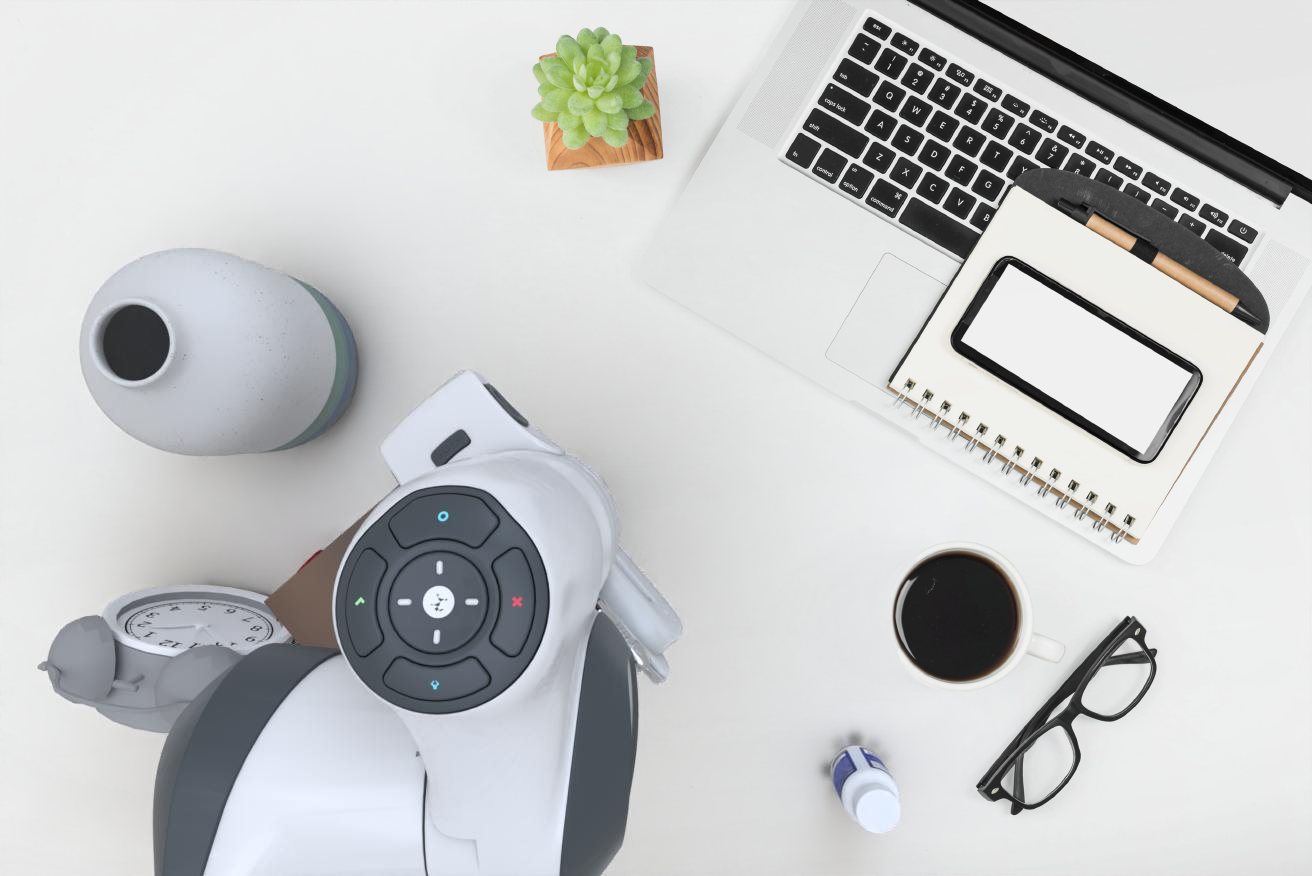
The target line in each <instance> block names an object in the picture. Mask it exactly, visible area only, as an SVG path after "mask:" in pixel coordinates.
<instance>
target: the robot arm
mask: <svg viewBox="0 0 1312 876" xmlns="http://www.w3.org/2000/svg"><path fill="white" fill-rule="evenodd" d="M379 453H380V455H381V457H382V459H383V461H384V462H385V464H386V466H387V467H388V469H389V470H390V473H391V474H392V476H393V477H394V479H395V481H396V482H397V484H398V485H400V487H398V488H397V489H395V488H394V489H395V490H394V489H393V490H394V491H393V492H391V491H390V492H391V493H390V492H389V493H390V494H389V493H388V494H389V495H388V494H387V495H388V496H387V495H386V497H385V496H384V497H385V498H384V497H383V498H384V499H383V498H382V499H383V500H382V499H381V500H382V501H381V500H380V501H381V502H380V501H379V502H380V503H379V502H378V503H379V504H378V505H377V506H376V508H375V509H374V510H373V511H372V513H371V514H370V515H369V516H368V517H367V518H366V520H365V521H364V522H363V524H362V525H361V527H360V528H359V530H358V531H357V533H356V534H355V536H354V537H353V539H352V541H351V543H350V544H349V546H348V548H347V551H346V553H345V555H344V557H343V559H342V561H341V564H340V567H339V569H338V572H337V576H336V580H335V584H334V591H333V601H332V614H333V624H334V630H335V634H336V638H337V642H338V645H339V647H340V649H337V648H327V647H316V646H305V645H299V644H294V643H292V644H284V643H271V644H267V645H264V646H261V647H259V648H257V649H255V650H254V651H252V652H251V653H249V654H248V655H246V656H245V657H243V658H242V659H240V660H239V661H237V662H236V663H234V664H233V665H232V666H230V667H229V668H228V669H226V670H225V671H224V672H222V673H221V674H220V675H219V676H218V677H216V678H215V679H214V680H213V681H212V682H211V683H210V684H208V685H207V686H206V687H205V688H204V689H203V690H202V691H201V692H200V693H199V694H198V695H197V696H196V697H195V698H194V699H193V700H192V701H191V702H190V703H189V705H188V706H187V707H186V708H185V709H184V711H183V712H182V713H181V714H180V716H179V717H178V718H177V720H176V721H175V723H174V724H173V726H172V728H171V730H170V732H169V733H167V736H166V739H165V741H164V743H163V747H162V749H161V753H160V756H159V760H158V764H157V767H156V768H157V769H156V775H155V780H154V788H153V799H152V800H153V801H152V845H153V847H152V849H153V873H154V874H153V875H154V876H602V875H603V873H604V872H605V871H606V869H608V867H609V865H610V864H611V863H612V861H613V860H614V858H615V857H616V855H617V854H618V853H619V851H620V849H621V848H622V847H623V843H624V840H625V836H626V830H627V823H628V818H629V817H628V816H629V807H630V800H631V799H630V797H631V792H632V785H633V782H634V781H633V780H634V773H635V767H636V759H637V749H638V739H639V717H640V716H639V713H640V712H639V707H640V705H639V687H638V676H637V675H638V674H639V673H641V672H642V673H644V674H645V675H646V677H647V678H648V679H649V680H650V681H651V683H653V685H655V686H657V685H659V684H660V683H661V684H662V683H665V682H666V680H667V678H668V677H669V675H670V665H669V661H668V660H667V659H666V657H665V655H664V653H665V652H666V651H667V650H668V649H669V648H671V647H672V646H673V645H674V644H676V642H678V640H679V639H680V637H681V636H682V634H683V629H684V628H683V626H684V625H683V622H682V620H681V618H680V617H679V614H678V613H677V612H676V611H675V609H674V608H673V607H672V605H671V604H670V603H669V602H668V601H667V600H666V598H665V597H664V596H663V595H662V594H661V592H660V591H659V590H658V589H657V588H656V586H655V585H654V584H653V583H652V582H651V581H650V579H649V578H648V577H647V576H646V575H645V574H644V572H643V571H642V569H640V568H639V566H637V564H636V563H635V562H634V560H633V559H632V558H631V557H630V556H629V554H627V552H626V551H625V550H624V548H622V546H620V539H621V528H620V527H621V525H620V519H619V513H618V509H617V506H616V504H615V503H616V502H615V500H614V498H613V496H612V494H611V492H610V490H609V488H608V486H607V485H606V484H605V482H604V481H603V480H602V479H601V477H600V476H599V475H598V474H597V473H596V472H595V471H594V470H593V469H592V468H591V467H590V466H589V465H588V464H586V463H585V462H583V461H582V460H580V459H579V458H576V457H574V456H573V455H570V454H569V453H567V451H566V449H565V448H564V447H562V446H561V445H560V444H558V442H555V441H554V440H552V439H551V438H549V436H546V435H544V434H543V433H542V432H541V431H539V430H538V429H536V428H535V427H534V426H532V425H531V424H530V422H529V421H528V420H527V419H526V417H524V415H522V414H521V413H520V412H519V411H518V410H517V409H515V407H514V406H513V405H512V404H511V403H510V402H509V401H508V400H507V399H506V398H505V397H504V396H503V395H502V394H501V392H500V391H498V389H497V388H496V387H495V386H494V385H492V384H491V383H489V381H488V380H487V379H486V378H485V377H484V376H483V375H481V374H480V373H479V372H477V371H474V370H472V369H467V370H466V369H462V370H459V371H458V372H457V373H455V374H454V375H453V376H451V378H449V379H448V380H446V382H445V383H443V384H442V385H441V386H439V387H438V388H437V389H436V390H435V391H434V392H432V393H431V394H430V395H429V396H428V397H427V398H425V400H423V401H422V402H420V404H419V405H417V406H416V407H415V408H414V409H413V410H412V411H411V412H410V413H408V414H407V416H405V417H404V418H403V419H402V421H401V422H399V423H398V424H397V426H395V428H394V429H393V430H391V432H390V433H389V434H388V435H387V436H386V438H385V439H384V440H383V441H382V442H381V443H380V445H379Z"/></svg>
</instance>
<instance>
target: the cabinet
mask: <svg viewBox="0 0 1312 876" xmlns="http://www.w3.org/2000/svg"><path fill="white" fill-rule="evenodd" d="M398 487H400V485H399V484H398V485H397V486H396V487H395V488H393V489H392V490H391V491H390V492H389V493H387V494H386V496H388V495H389V494H390V493H391V492H393V491H394V490H395V489H397V488H398ZM386 496H384V497H383V498H382V499H381V500H379V501H378V502H377V503H376V504H375V505H374V506H373V507H371V508H370V509H369V510H368V511H367V512H365V513H364V514H363V515H362V516H361V517H360V518H358V519H357V520H356V521H355V522H354V523H353V524H351V526H349V527H348V528H347V529H346V530H345V531H343V533H341V534H340V535H339V536H338V537H336V538H335V540H333V541H332V542H331V543H330V544H329V545H327V546H326V547H325V548H324V549H322V550H323V551H322V552H321V553H319V554H318V555H317V556H316V557H315V558H314V559H312V560H311V561H310V562H309V563H308V564H307V565H305V566H304V567H303V568H302V569H301V570H300V571H298V570H297V571H298V572H296V573H294V574H293V576H291V578H289V579H288V580H287V581H285V582H284V583H283V584H282V585H280V587H279V588H278V589H276V590H275V591H274V592H273V593H272V594H270V595H269V596H268V598H267V599H266V600H265V601H264V603H265V604H266V606H267V607H268V608H269V609H270V610H271V611H272V613H273V614H274V615H275V616H276V617H277V619H278V620H279V621H280V622H281V623H282V624H283V626H284V627H285V628H286V629H287V630H288V632H289V633H290V634H291V635H292V636H293V639H294V640H295V641H296V643H297V644H298V645H305V646H316V647H327V648H337V649H340V647H339V645H338V642H337V638H336V634H335V630H334V624H333V614H332V601H333V591H334V584H335V580H336V576H337V572H338V569H339V567H340V564H341V561H342V559H343V557H344V555H345V553H346V551H347V548H348V546H349V544H350V543H351V541H352V539H353V537H354V536H355V534H356V533H357V531H358V530H359V528H360V527H361V525H362V524H363V522H364V521H365V520H366V518H367V517H368V516H369V515H370V514H371V513H372V511H373V510H374V509H375V508H376V506H377V505H378V504H379V503H380V502H381V501H382V500H383V499H384V498H385V497H386Z"/></svg>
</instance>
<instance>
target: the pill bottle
mask: <svg viewBox="0 0 1312 876" xmlns="http://www.w3.org/2000/svg"><path fill="white" fill-rule="evenodd" d="M829 773H830V778H831V782H832V785H833V787H834V789H835V791H836V794H837V795H838V798H839V800H840V802H841V804H842V807H843V809H844V811H845V812H846V814H847V815H848V817H849V818H850V819H851V820H852V821H854V822H855V823H857V824H859V825H860V826H861V827H862V828H863V829H864V830H865V831H867V832H868V833H871V834H875V835H882V834H886V833H889V832H891V831H892V830H894V829H895V828H896V826H898V824H899V822H900V819H901V814H902V808H901V805H900V797H901V796H900V791H899V787H898V785H897V783H896V781H895V780H894V778H893V776H892V775H891V773H890V772H889V770H888V768H887V767H886V765H885V763H884V762H883V760H882V759H881V758H880V756H879V755H878V754H877V752H875V751H874V750H873V749H871V748H869V747H867V746H865V745H859V744H858V745H855V744H853V745H849V746H846V747H844V748H842V749H841V750H840V751H838V752H837V753H836V755H835V756H834V757H833V759H832V761H831V764H830V770H829Z"/></svg>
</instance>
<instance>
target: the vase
mask: <svg viewBox="0 0 1312 876" xmlns="http://www.w3.org/2000/svg"><path fill="white" fill-rule="evenodd" d="M79 332H80V333H79V340H78V341H79V343H78V344H79V345H78V350H79V351H78V353H79V354H78V355H79V363H80V368H81V372H82V376H83V379H84V382H85V384H86V387H87V389H88V391H89V393H90V395H91V398H93V400H94V402H95V403H96V405H97V407H98V408H99V409H100V410H101V411H102V413H103V414H104V415H105V416H106V417H107V418H108V419H109V420H110V421H111V423H113V425H116V426H117V427H118V428H119V429H120V430H122V432H124V433H126V435H129V436H130V437H131V438H133V439H135V440H137V441H139V442H140V443H143V444H144V445H146V446H149V447H151V448H154V449H156V450H159V451H162V452H166V453H169V454H171V453H172V454H175V455H180V456H189V457H224V456H225V457H226V456H238V455H239V456H240V455H254V454H263V453H266V454H267V453H274V452H281V451H287V450H290V449H295V448H297V447H299V446H303V445H305V444H307V443H309V442H312V441H314V440H315V439H317V438H319V437H321V435H323V434H324V433H325V432H327V431H328V430H329V429H331V428H332V427H333V425H334V424H336V423H337V421H338V420H339V419H340V418H341V417H342V416H343V414H344V412H345V411H346V410H347V408H348V406H349V405H350V404H351V403H350V402H351V400H352V398H353V396H354V393H355V390H356V387H357V384H358V379H359V367H360V366H359V365H360V364H359V363H360V362H359V352H358V347H357V343H356V340H355V336H354V334H353V332H352V329H351V327H350V325H349V323H348V320H346V318H345V317H344V315H343V314H342V312H341V311H340V310H339V308H338V307H337V306H336V305H335V304H334V303H333V302H332V301H331V299H329V298H328V297H327V296H326V295H324V294H323V293H322V292H320V291H319V290H318V289H316V288H315V287H313V286H311V285H310V284H308V283H306V282H304V281H301V280H299V279H298V278H296V277H293V276H291V275H288V274H285V273H283V272H280V271H278V270H277V269H276V270H275V269H273V268H270V267H268V266H265V265H262V264H259V263H257V262H256V261H252V260H249V259H247V258H244V257H242V256H239V255H236V254H233V253H230V252H226V251H221V250H217V249H212V248H205V247H204V248H203V247H175V248H170V249H163V250H159V251H156V252H152V253H148V254H147V255H144V256H141V257H139V258H137V259H134V260H132V261H130V262H129V263H128V264H126V265H124V266H122V267H121V268H120V269H118V270H117V271H116V272H115V273H113V274H112V275H111V276H110V277H109V278H108V279H107V280H106V281H105V282H104V283H103V284H102V285H101V286H100V287H99V289H98V290H97V291H96V293H95V294H94V296H93V297H92V299H91V301H90V303H89V305H88V307H87V309H86V311H85V314H84V317H83V320H82V323H81V328H80V331H79Z"/></svg>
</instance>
